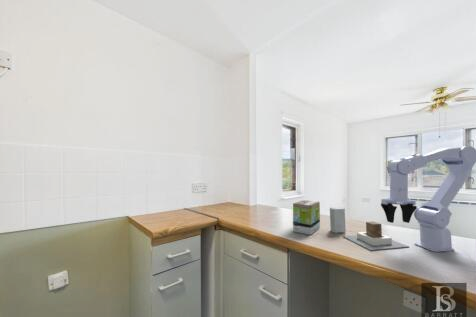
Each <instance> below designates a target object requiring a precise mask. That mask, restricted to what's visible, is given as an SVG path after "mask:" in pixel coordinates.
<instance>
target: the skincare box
mask: <svg viewBox="0 0 476 317" xmlns="http://www.w3.org/2000/svg"><path fill="white" fill-rule="evenodd" d="M329 220H330V221H329V222H330V224H329V225H330V231H331V232H333V233H335V234H336V233H337V234H338V233H346V231H347V230H346V209H345V208H344V207H337V206H336V207H329Z"/></svg>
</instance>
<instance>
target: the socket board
mask: <svg viewBox="0 0 476 317" xmlns="http://www.w3.org/2000/svg"><path fill="white" fill-rule="evenodd" d="M342 237H343V238H344V239H346V240H348V241H350V242H352V243H354V244H356V245H358V246H360V247H362V248H364V249H366V250H368V251H370V252H372V251H385V250H396V249H397V250H398V249H405V248H410V246H409V245H407V244H405V243H404V244H403V243H401V242H398V241H395V240H393V239H392V237H390V236H387V235H385V234H383V233H382V237H378V238H372V237H370V236H368V235H366V231H359V232H356V234H354V235H344V236H342Z"/></svg>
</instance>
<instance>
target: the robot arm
mask: <svg viewBox="0 0 476 317" xmlns="http://www.w3.org/2000/svg"><path fill="white" fill-rule="evenodd" d="M439 160H441V162H442V163H443V164H444V166H445V167H446V169H448V170H449V173H448V174H447V176H446V177H445V178H444V179H443V181H442V183H441V184H440V186H439V187H438V189H437V190H436V192H435V193H434V195H433V196H432V197H431V199H430V200H428V201H426V202H424V203H423V202H422V203H421V205H420V206H418V207H417V205H416V203H417V202H416V200H415V199H408V194H409V190H408V189H409V188H408V186H409V174H411V173H412V172H413V171H415V170H418V169H422V168H425V167H427V165H428V163H431V162H436V161H439ZM475 164H476V148H475V147H474V146H472V145H466V146H465V145H464V146H459V147H458V146H456V147H444V148H439V149H437V150H434V151H431V152H429V153H426V154H424V155H423V154H420V153H412V154H410V156H407V157H400V159H397V160H392V161H390V162H389V163H388V165H387V166H386V169H387V172H388V173H389V178H390V180H389V187H390V188H389V198H381V202H380V207H381V208H382V209H383V212H384V214H385V217H386V221H387V223H394V221H395V214H396V211H397V208H398V206H395V205H399V206H400V209H401V215H402V216H401V217H402V222H403V223H406V224H409V223H410V222H411V219H412V216H414V219H416V221H417V224H419V236H420V239H419V240H420V241H419V242H415V243H414V246H415V245H416V246H419V247H421V248H424V249H427V250H428V251H429V250H430V251H432V252H435V253H438V252H449V251H455V248H453V247H452V233H451V230H450V229H449V228H448V226H449V223H450V219H451V216H452V214H453V213H452V212H451V210H450V209H449V206H450V205H451V204H452V202H453V200H454V199H455V198H456V196H457V195H458V193H459V192H460V190H461V189H462V187H463V186H464V184H465V183H466V181H467V180H468V179H469V177H470V175H471V174H472V171H473V167H474V165H475Z"/></svg>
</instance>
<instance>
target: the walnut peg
mask: <svg viewBox="0 0 476 317" xmlns="http://www.w3.org/2000/svg"><path fill="white" fill-rule="evenodd" d="M382 230H383V229H382V223H380V222H377V221H366V222H365V232H366V235H368V236H370V237H372V238H378V237H382V234H383V233H382Z"/></svg>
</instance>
